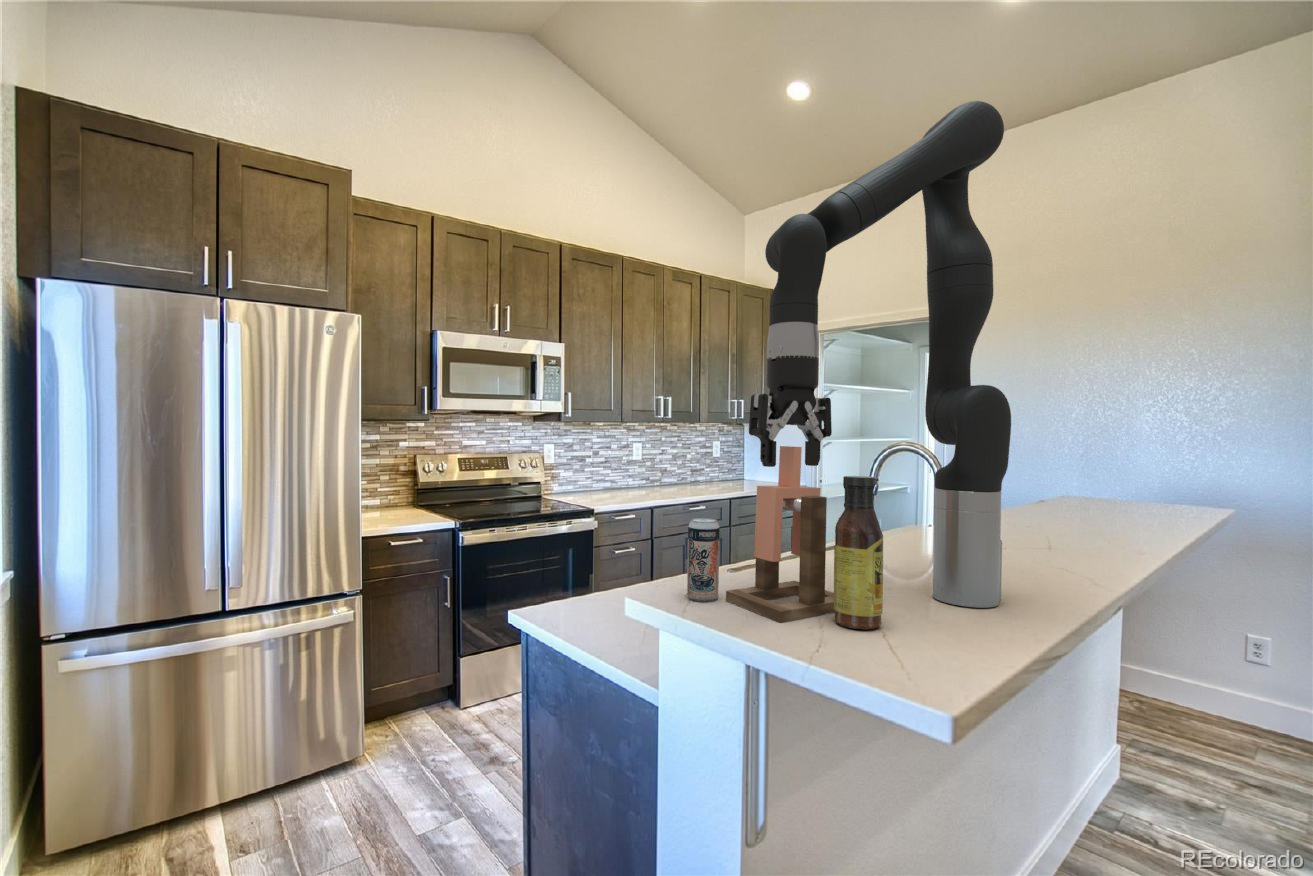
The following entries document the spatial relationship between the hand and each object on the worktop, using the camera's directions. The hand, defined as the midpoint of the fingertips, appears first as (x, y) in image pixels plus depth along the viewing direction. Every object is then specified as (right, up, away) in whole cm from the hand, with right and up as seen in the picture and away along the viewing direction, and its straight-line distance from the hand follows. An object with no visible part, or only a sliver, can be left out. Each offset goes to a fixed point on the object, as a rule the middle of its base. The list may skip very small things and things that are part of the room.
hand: (790, 466), depth 89 cm
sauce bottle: (+7, -21, -8) cm, 24 cm away
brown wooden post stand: (0, -21, 0) cm, 21 cm away
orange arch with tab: (-1, -14, 0) cm, 14 cm away
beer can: (-13, -21, +3) cm, 24 cm away
